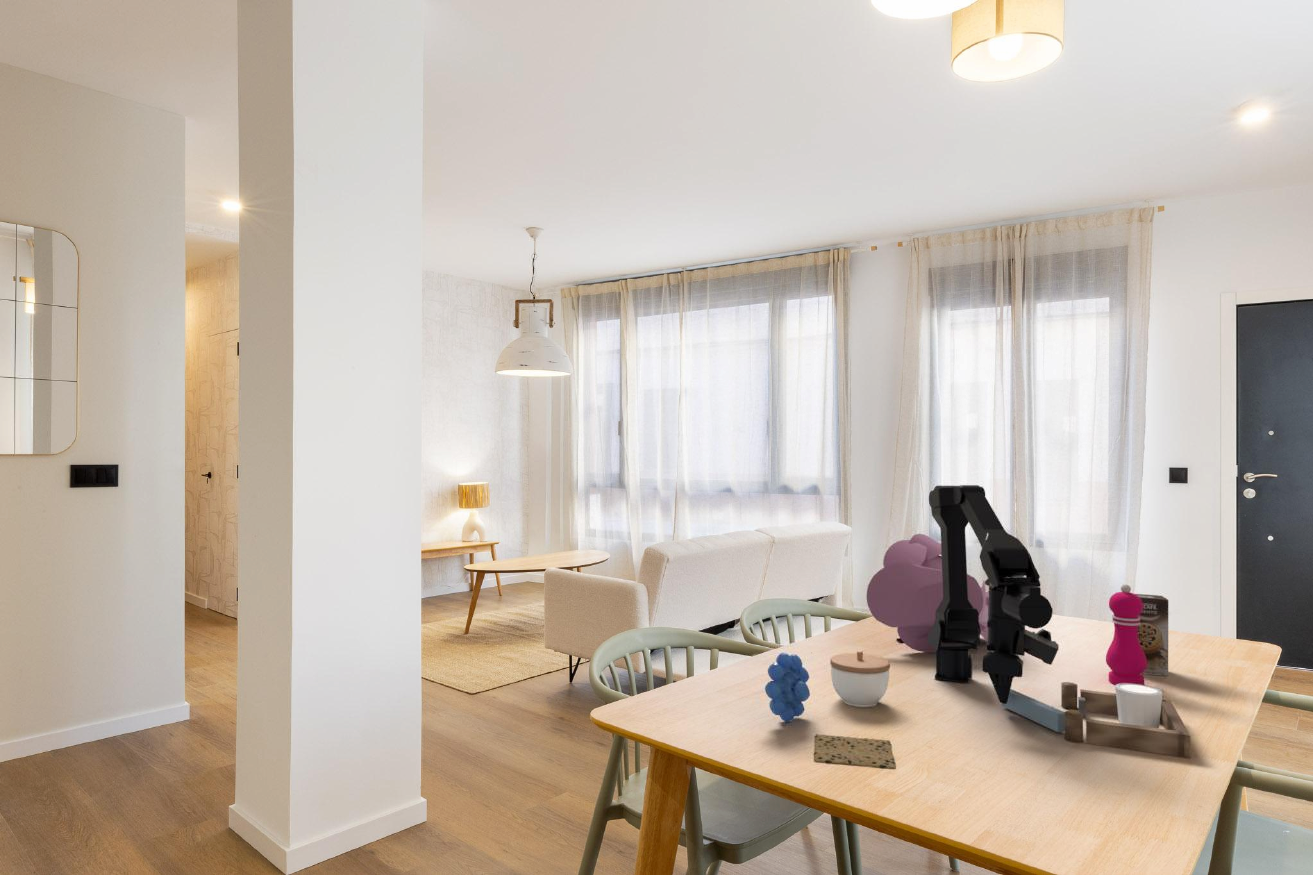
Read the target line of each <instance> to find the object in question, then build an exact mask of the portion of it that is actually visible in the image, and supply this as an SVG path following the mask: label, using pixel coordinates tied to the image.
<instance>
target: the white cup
mask: <svg viewBox="0 0 1313 875" xmlns="http://www.w3.org/2000/svg"><path fill="white" fill-rule="evenodd" d="M1114 688H1115V689H1114V690H1115V694H1116V699H1117V708H1118V715H1117V718H1118V723H1122V724H1129V725H1137V726H1144V727H1152V728H1159V729H1160V724H1161V723H1160V722H1161V721H1160V713H1161V703H1162V699H1163V691H1162V689H1159V688H1157V687H1152V686H1148V685H1145V684H1144V685H1140V684H1130V683H1122V684H1117V685H1115V684H1114Z"/></svg>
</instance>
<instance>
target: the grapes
mask: <svg viewBox="0 0 1313 875" xmlns="http://www.w3.org/2000/svg"><path fill="white" fill-rule="evenodd" d="M775 661H776V662H773V663H772V664H770V665H769V667H768V668H767V673H768V676H769V678H770V680H769V681H768V682H767V683H766V685H765V687H764V690H765V693H766V696H767V697H768V698H769V699H771V700H770V701H769V703H768V705H769V709H770V711H771V712H772V714H773V715H775V716H779V718H780V719H781V720H782V721H783V722H785V723H790V722H791V721H793V719H794V718H795V717H800V716H802V715H803V713H804V712H805V707H804V704H803V702H806V701H807V700H808V699H809V698H810V696H811V694H810V689H809V686H808V685H807V682H808V681H809V679H810V675H809V672H808V671H807V669H806V668H805V667H804V666H803V661H802V659H801V658H800V656H798V655H797V654H790V655H789V654H788V653H787V652H781V653H779V654H778V656H777V657H776V659H775Z"/></svg>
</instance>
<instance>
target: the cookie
mask: <svg viewBox="0 0 1313 875" xmlns="http://www.w3.org/2000/svg"><path fill="white" fill-rule="evenodd" d="M892 749H893V746H892V744H891V741H890V740H887V739H875V738H867V737H851V736H841V735H830V734H829V735H826V734H819V733H818V734H817V733H816V734H815V735H814V749H813V762H814V763H818V764H819V763H821V764H832V765H843V766H855V767H867V768H877V769H888V770H896V768H897V764H896V761H895V756H894V754H893V750H892Z"/></svg>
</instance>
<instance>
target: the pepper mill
mask: <svg viewBox="0 0 1313 875" xmlns="http://www.w3.org/2000/svg"><path fill="white" fill-rule="evenodd" d="M1131 590H1132V588H1131V586H1130V585H1129V584H1122V585H1121V586H1120V591H1118V593H1116V592H1115V593H1114V594H1112V595H1111V596H1110V597H1109V600H1108V607H1109V610H1110V611H1111V612H1112V613H1113V614H1112V615H1111V618H1112V619H1111V622H1112V623H1113V625H1114V631H1113V639H1112V640H1111V643H1110V645H1109V647H1108V649H1107V651H1106V653H1105V654H1106V655H1105V663H1106V665H1107V666H1108V667H1109V668H1110V671H1109V672H1108V682H1109V683H1110V684H1113V685H1114V686H1115V685H1117V684H1122V683H1130V684H1140V685H1145V676H1144V675H1143V673H1142V672H1144V671H1145V670H1146V668H1147V659H1146V656H1145V654H1144V652H1143V650H1142V648H1141V645H1140V643H1139V640H1138V632H1137V631H1138V625H1140V621H1139V620H1140V618H1139V617H1138V616H1139V614H1140V613H1141V612H1142V611H1143V603H1142V600H1141V599H1140V598H1139V597H1138V596H1137V595H1135V594H1136V593H1133V592H1131Z"/></svg>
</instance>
